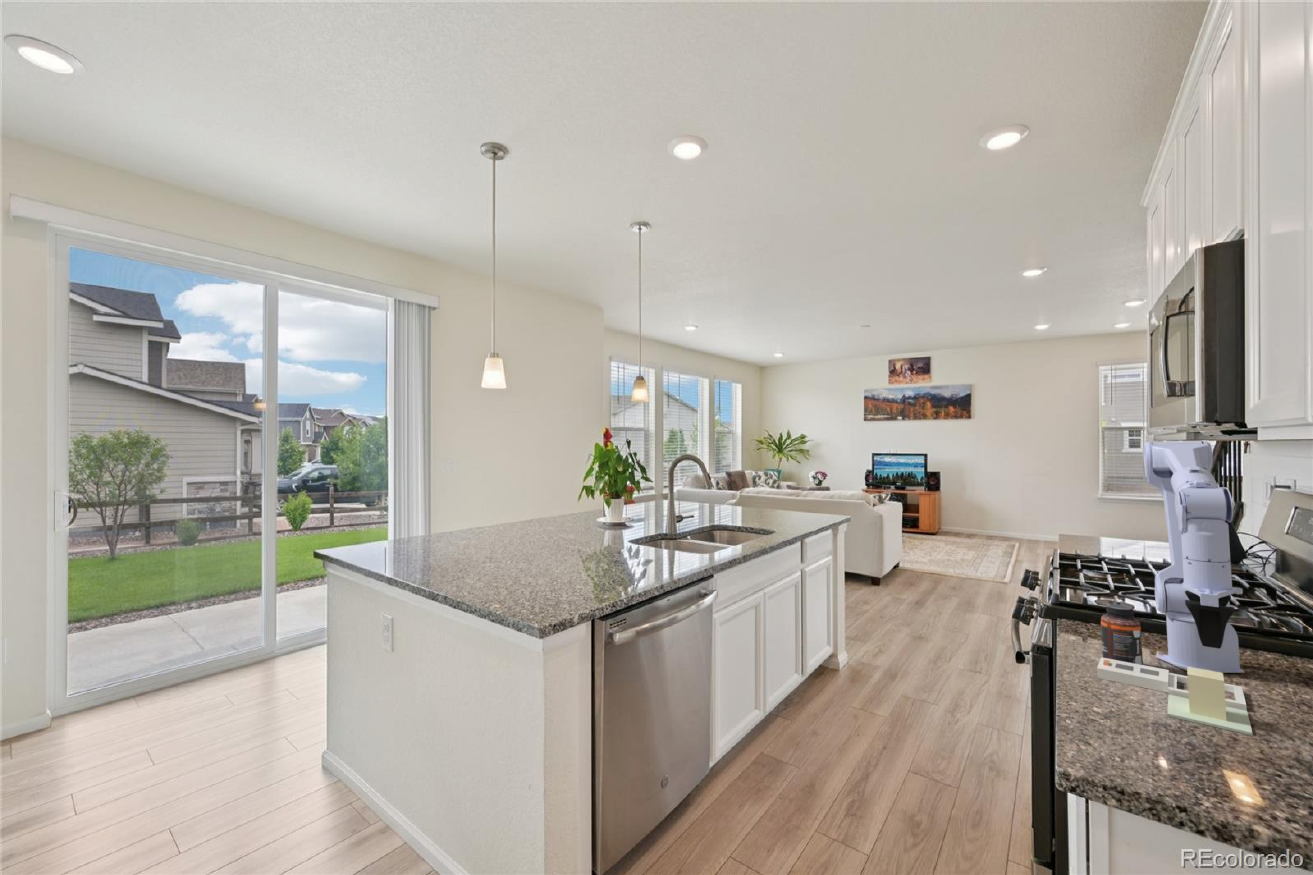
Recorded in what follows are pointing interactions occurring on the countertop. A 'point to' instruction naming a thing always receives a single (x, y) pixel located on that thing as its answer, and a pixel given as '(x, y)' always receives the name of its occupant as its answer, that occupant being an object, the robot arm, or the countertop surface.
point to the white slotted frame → (1157, 680)
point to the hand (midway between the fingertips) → (1210, 640)
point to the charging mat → (1234, 717)
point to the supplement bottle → (1121, 634)
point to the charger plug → (1206, 693)
